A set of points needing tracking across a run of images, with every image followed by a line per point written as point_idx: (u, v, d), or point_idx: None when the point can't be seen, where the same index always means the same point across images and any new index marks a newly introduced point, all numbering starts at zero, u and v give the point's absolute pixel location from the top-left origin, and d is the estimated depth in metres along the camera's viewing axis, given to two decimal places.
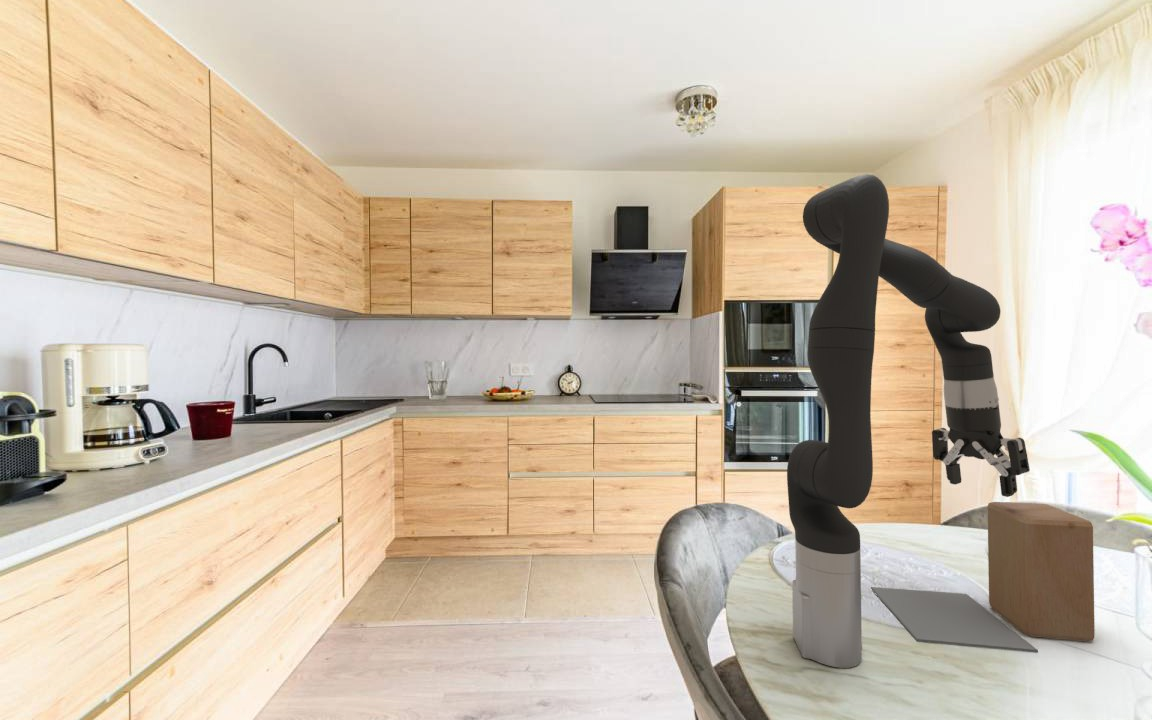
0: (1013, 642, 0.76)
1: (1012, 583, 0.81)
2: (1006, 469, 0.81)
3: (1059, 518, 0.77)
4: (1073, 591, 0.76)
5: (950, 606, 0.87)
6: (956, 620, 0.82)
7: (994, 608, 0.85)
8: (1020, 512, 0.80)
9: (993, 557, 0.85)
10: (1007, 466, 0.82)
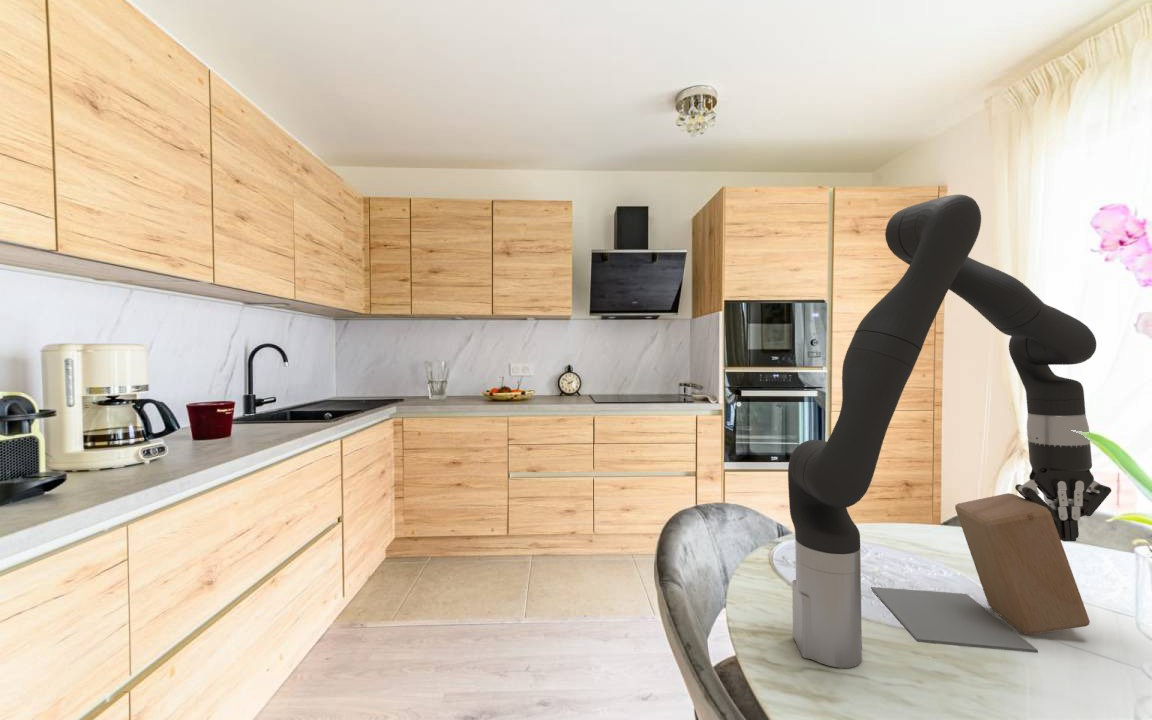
0: (1013, 642, 0.76)
1: (997, 583, 0.81)
2: None
3: (1017, 512, 0.78)
4: (1053, 581, 0.77)
5: (950, 606, 0.87)
6: (956, 620, 0.82)
7: (993, 608, 0.85)
8: (981, 513, 0.81)
9: (975, 558, 0.86)
10: None
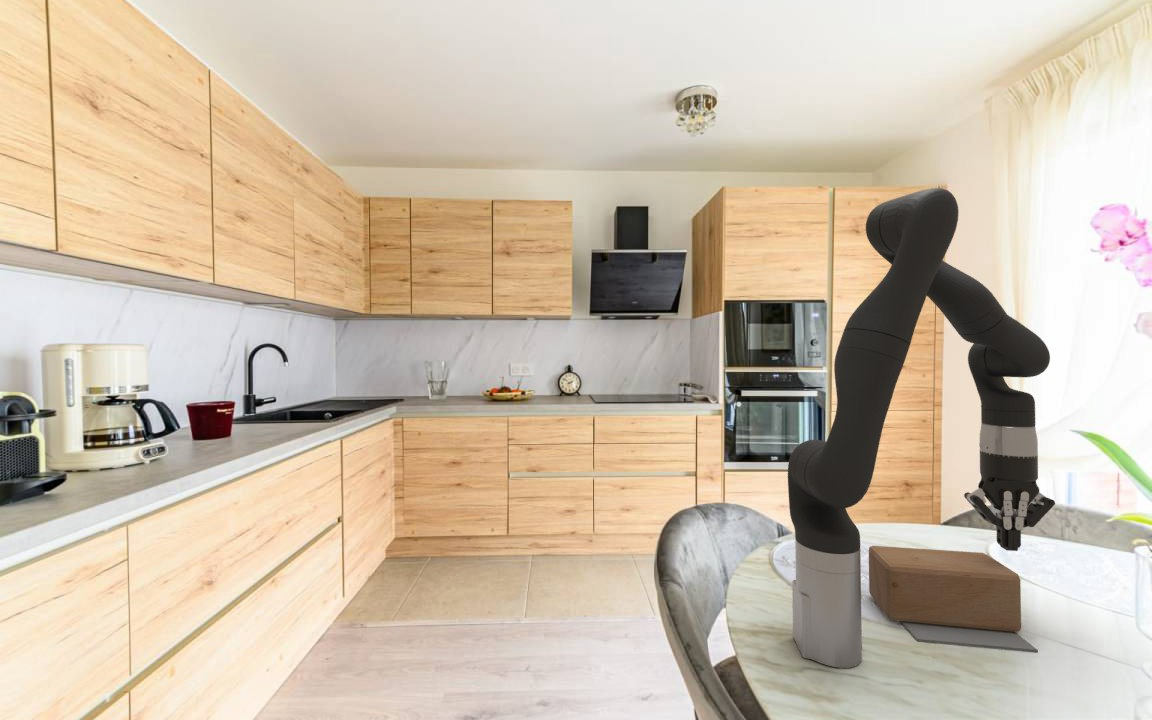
0: (1013, 642, 0.76)
1: None
2: None
3: (887, 589, 0.83)
4: (966, 590, 0.80)
5: None
6: None
7: None
8: (882, 606, 0.85)
9: None
10: None
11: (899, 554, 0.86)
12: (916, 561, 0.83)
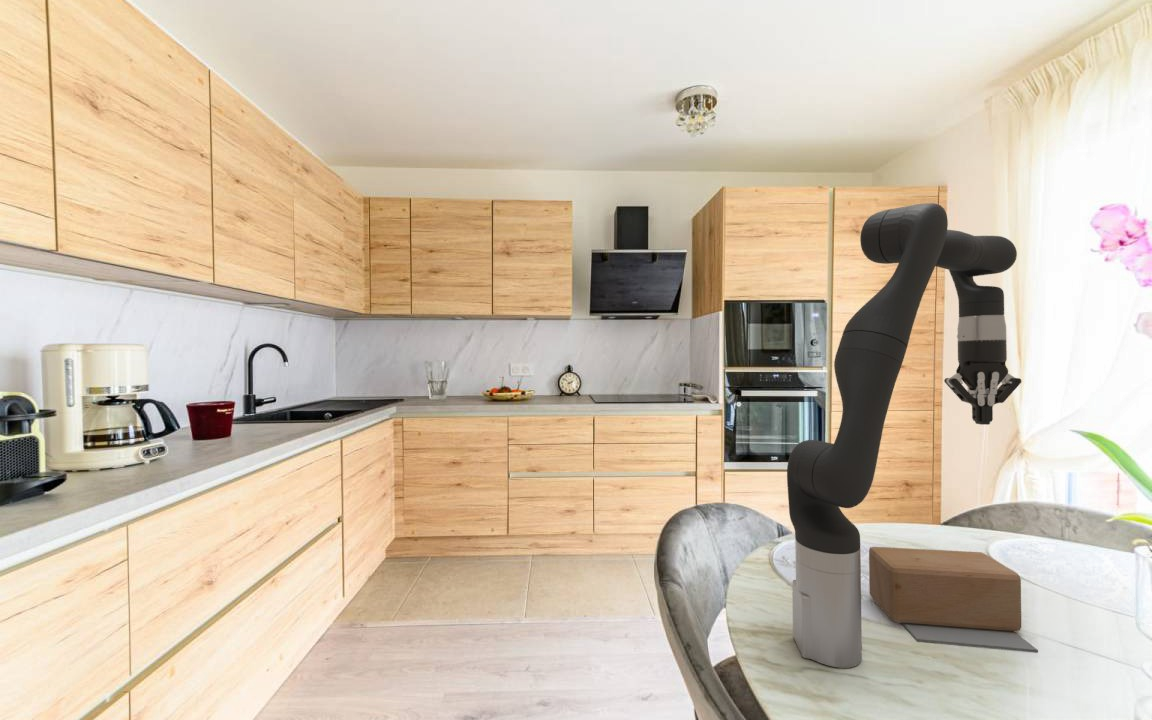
0: (1013, 642, 0.76)
1: None
2: None
3: (890, 590, 0.82)
4: (968, 590, 0.79)
5: None
6: None
7: None
8: (884, 608, 0.84)
9: None
10: None
11: (900, 555, 0.86)
12: (918, 562, 0.83)
